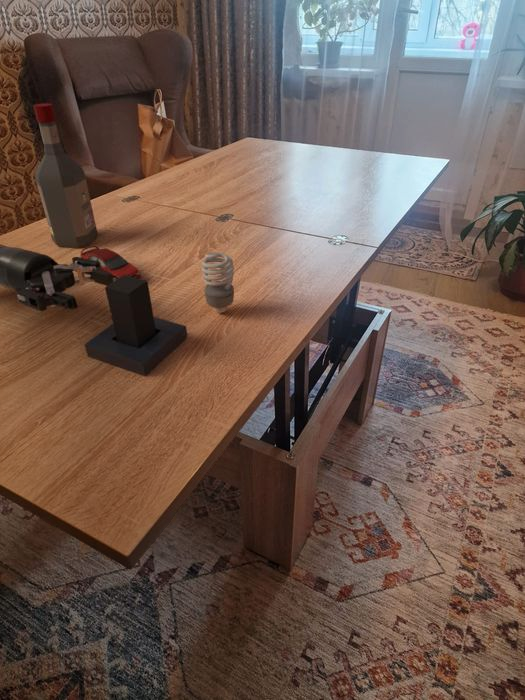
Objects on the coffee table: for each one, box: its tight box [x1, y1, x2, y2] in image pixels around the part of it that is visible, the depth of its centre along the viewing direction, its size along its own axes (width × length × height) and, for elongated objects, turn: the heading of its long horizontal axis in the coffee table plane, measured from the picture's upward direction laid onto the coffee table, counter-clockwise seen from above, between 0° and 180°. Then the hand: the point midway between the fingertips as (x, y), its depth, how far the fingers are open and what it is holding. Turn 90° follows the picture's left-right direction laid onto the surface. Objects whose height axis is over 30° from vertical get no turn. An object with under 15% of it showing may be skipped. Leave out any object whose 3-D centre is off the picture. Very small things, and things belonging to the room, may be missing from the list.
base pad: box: [84, 316, 188, 377], centre depth 81 cm, size 12×12×2 cm
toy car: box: [80, 245, 142, 282], centre depth 101 cm, size 6×15×5 cm, turn 47°
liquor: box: [32, 102, 99, 249], centre depth 109 cm, size 9×9×30 cm
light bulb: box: [201, 251, 235, 314], centre depth 87 cm, size 6×6×12 cm
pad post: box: [104, 275, 156, 349], centre depth 78 cm, size 5×5×12 cm
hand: (94, 291), depth 79 cm, fingers open, 8 cm apart
